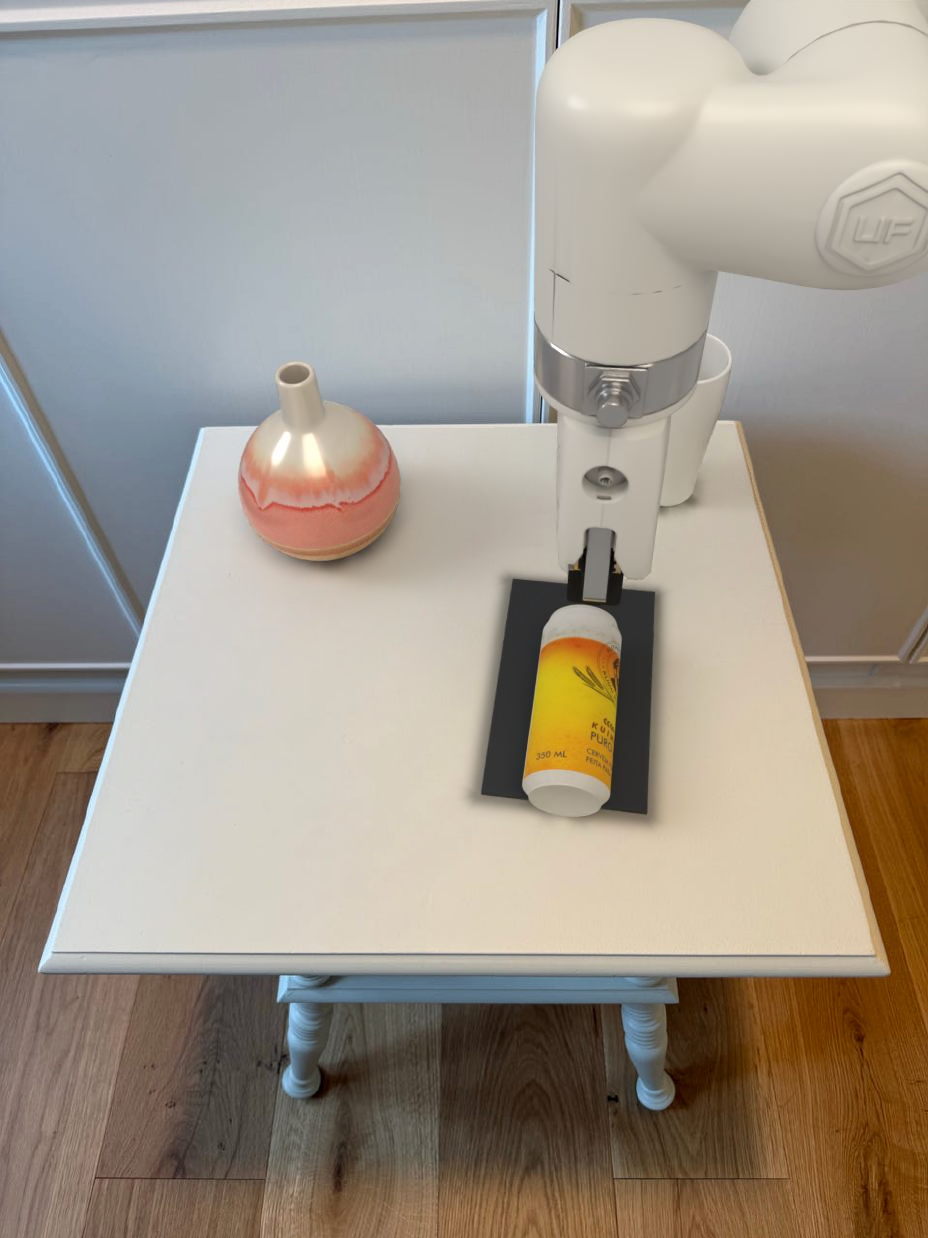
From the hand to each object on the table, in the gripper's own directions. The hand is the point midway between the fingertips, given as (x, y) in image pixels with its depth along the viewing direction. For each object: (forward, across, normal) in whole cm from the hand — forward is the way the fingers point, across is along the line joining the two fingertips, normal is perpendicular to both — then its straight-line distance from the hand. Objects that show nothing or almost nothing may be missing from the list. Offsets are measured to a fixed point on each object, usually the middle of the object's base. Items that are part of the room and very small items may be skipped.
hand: (593, 593), depth 56 cm
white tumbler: (+18, +26, -6) cm, 32 cm away
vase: (+17, +18, +24) cm, 34 cm away
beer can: (+14, -8, +1) cm, 16 cm away
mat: (+18, +4, +1) cm, 18 cm away
